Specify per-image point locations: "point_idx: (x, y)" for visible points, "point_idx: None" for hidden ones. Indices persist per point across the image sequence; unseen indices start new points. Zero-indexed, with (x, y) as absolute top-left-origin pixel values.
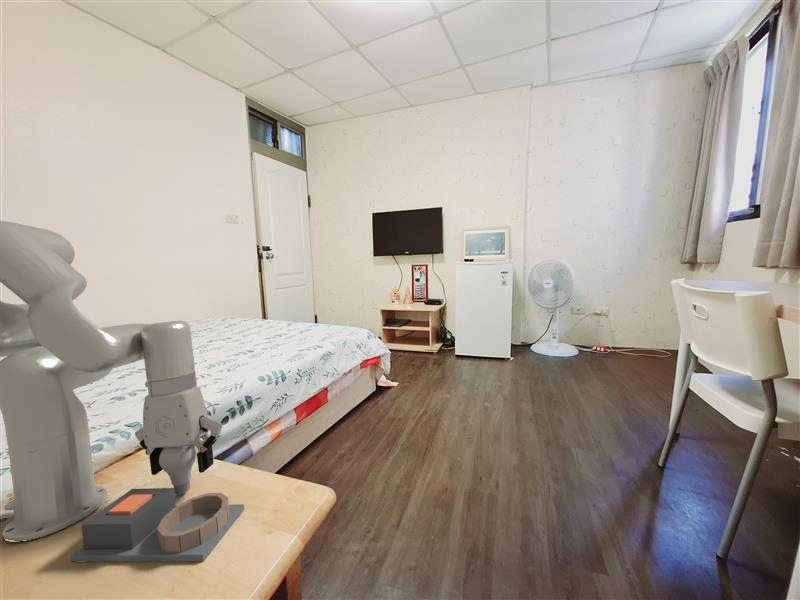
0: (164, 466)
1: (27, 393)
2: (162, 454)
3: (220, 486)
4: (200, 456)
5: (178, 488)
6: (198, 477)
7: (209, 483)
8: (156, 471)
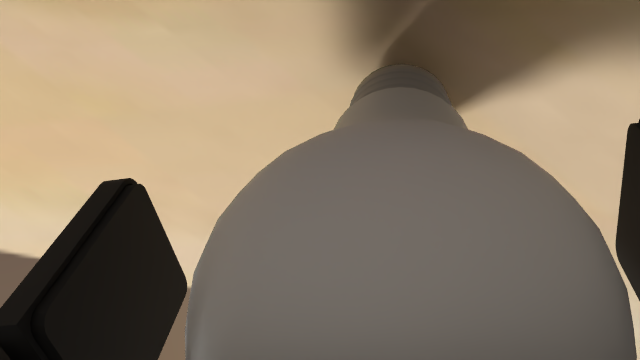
0: (393, 129)
1: None
2: (478, 272)
3: (206, 183)
4: (18, 295)
5: (376, 86)
6: None
7: None
8: (637, 144)
